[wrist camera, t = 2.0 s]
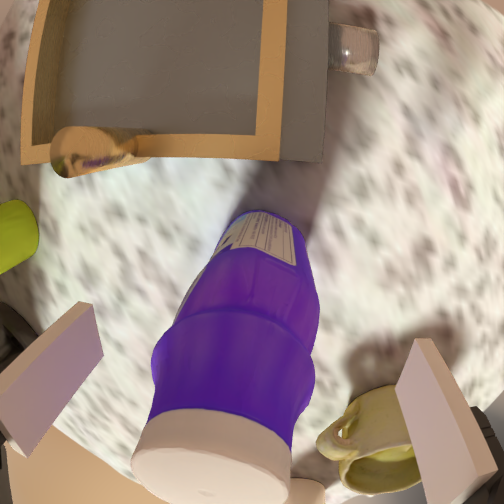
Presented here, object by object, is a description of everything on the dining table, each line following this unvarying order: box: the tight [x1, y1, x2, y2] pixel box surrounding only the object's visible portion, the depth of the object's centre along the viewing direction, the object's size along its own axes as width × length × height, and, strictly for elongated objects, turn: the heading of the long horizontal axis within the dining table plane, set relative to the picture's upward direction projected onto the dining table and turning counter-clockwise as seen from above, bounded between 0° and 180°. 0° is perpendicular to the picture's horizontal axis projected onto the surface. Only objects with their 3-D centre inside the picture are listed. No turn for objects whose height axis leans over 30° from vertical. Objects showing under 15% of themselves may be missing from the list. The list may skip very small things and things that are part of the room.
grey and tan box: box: [21, 0, 379, 178], centre depth 12 cm, size 21×15×12 cm
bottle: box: [131, 210, 320, 504], centre depth 14 cm, size 7×6×17 cm
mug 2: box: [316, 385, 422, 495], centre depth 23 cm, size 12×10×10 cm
